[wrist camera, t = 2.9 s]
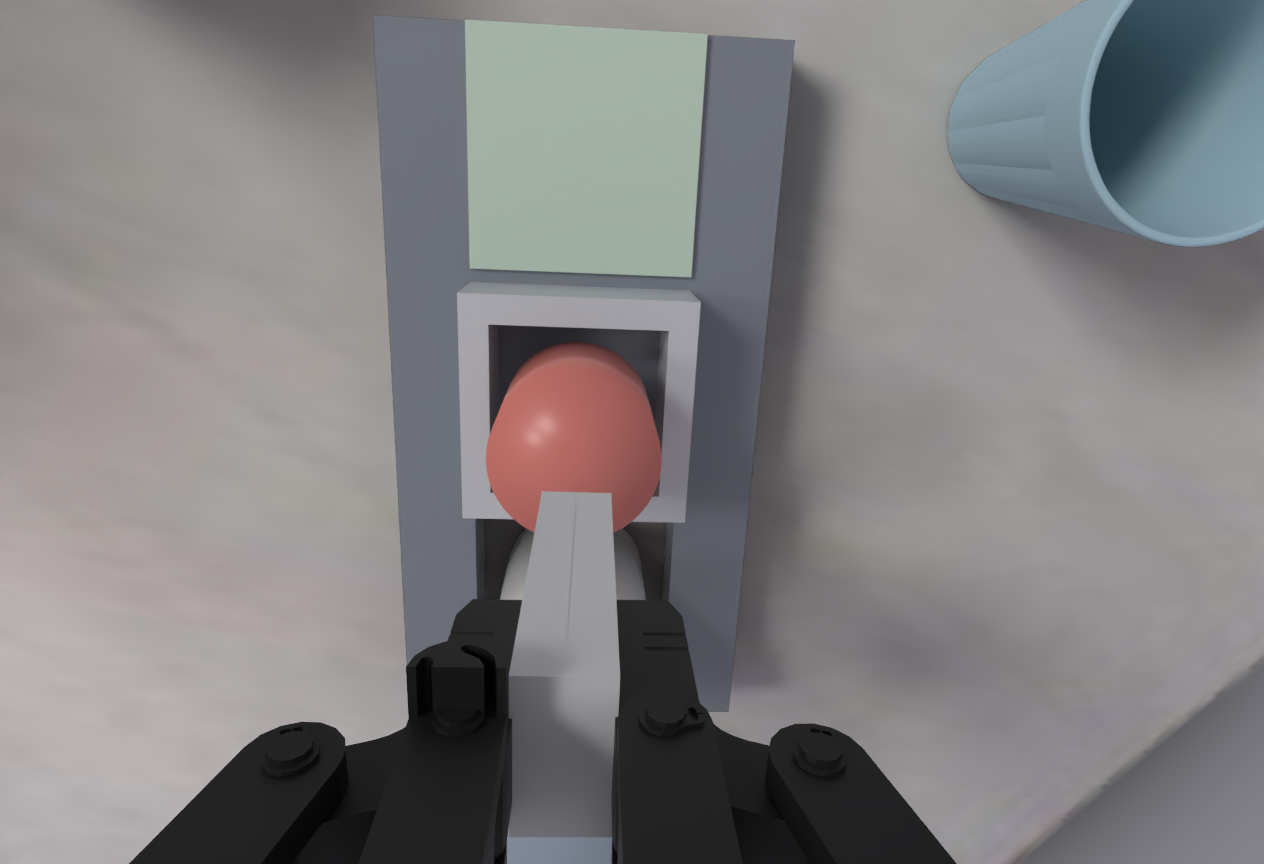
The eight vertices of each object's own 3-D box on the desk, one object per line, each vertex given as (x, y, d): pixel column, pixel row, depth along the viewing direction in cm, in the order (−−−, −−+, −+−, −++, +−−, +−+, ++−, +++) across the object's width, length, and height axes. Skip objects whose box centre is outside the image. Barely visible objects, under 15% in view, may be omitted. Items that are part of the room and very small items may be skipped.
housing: (421, 675, 36) (392, 759, 30) (391, 29, 27) (344, -7, 22) (719, 677, 36) (741, 759, 31) (777, 52, 28) (820, 22, 23)
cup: (925, 247, 31) (1086, 274, 21) (906, 39, 28) (1078, -43, 18) (1111, 206, 31) (1363, 214, 21) (1109, -6, 28) (1390, -112, 18)
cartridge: (505, 630, 35) (446, 935, 21) (504, 506, 33) (439, 747, 19) (640, 632, 35) (673, 932, 21) (647, 509, 34) (688, 748, 19)
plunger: (505, 477, 27) (486, 540, 22) (504, 338, 26) (484, 373, 21) (645, 481, 27) (656, 543, 23) (652, 343, 26) (666, 379, 21)
